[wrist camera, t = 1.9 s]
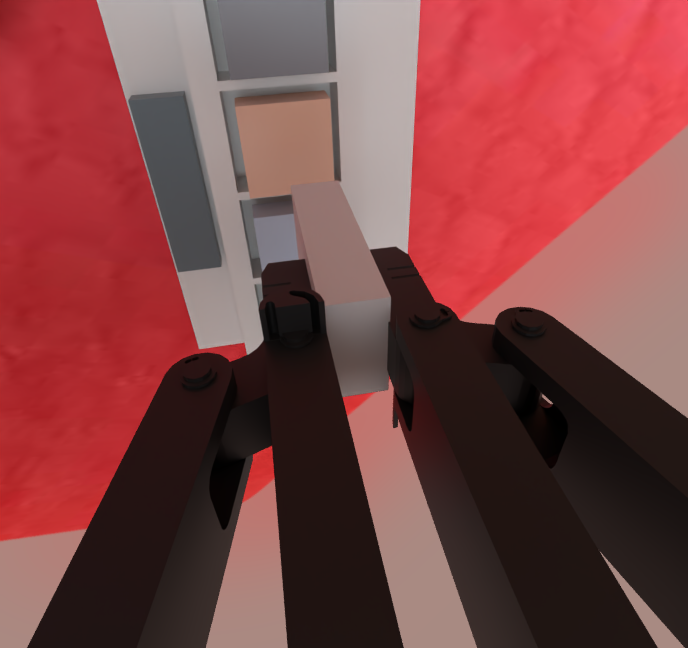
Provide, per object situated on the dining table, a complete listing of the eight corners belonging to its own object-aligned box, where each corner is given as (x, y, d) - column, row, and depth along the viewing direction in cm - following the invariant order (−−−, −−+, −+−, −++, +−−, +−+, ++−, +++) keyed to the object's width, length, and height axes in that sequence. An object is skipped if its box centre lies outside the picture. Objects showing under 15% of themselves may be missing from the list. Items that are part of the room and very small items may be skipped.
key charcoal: (230, 68, 21) (230, 80, 19) (211, -46, 19) (209, -46, 17) (320, 61, 22) (328, 72, 20) (313, -51, 19) (322, -52, 17)
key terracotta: (248, 178, 24) (249, 198, 22) (234, 93, 22) (234, 106, 20) (326, 170, 25) (334, 189, 23) (321, 86, 22) (330, 98, 20)
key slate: (262, 264, 27) (264, 288, 25) (251, 197, 25) (253, 218, 23) (331, 255, 28) (339, 278, 26) (327, 189, 25) (335, 208, 23)
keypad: (199, 343, 32) (197, 371, 30) (73, -89, 19) (53, -94, 16) (401, 314, 34) (413, 338, 32) (421, -101, 20) (444, -108, 18)
